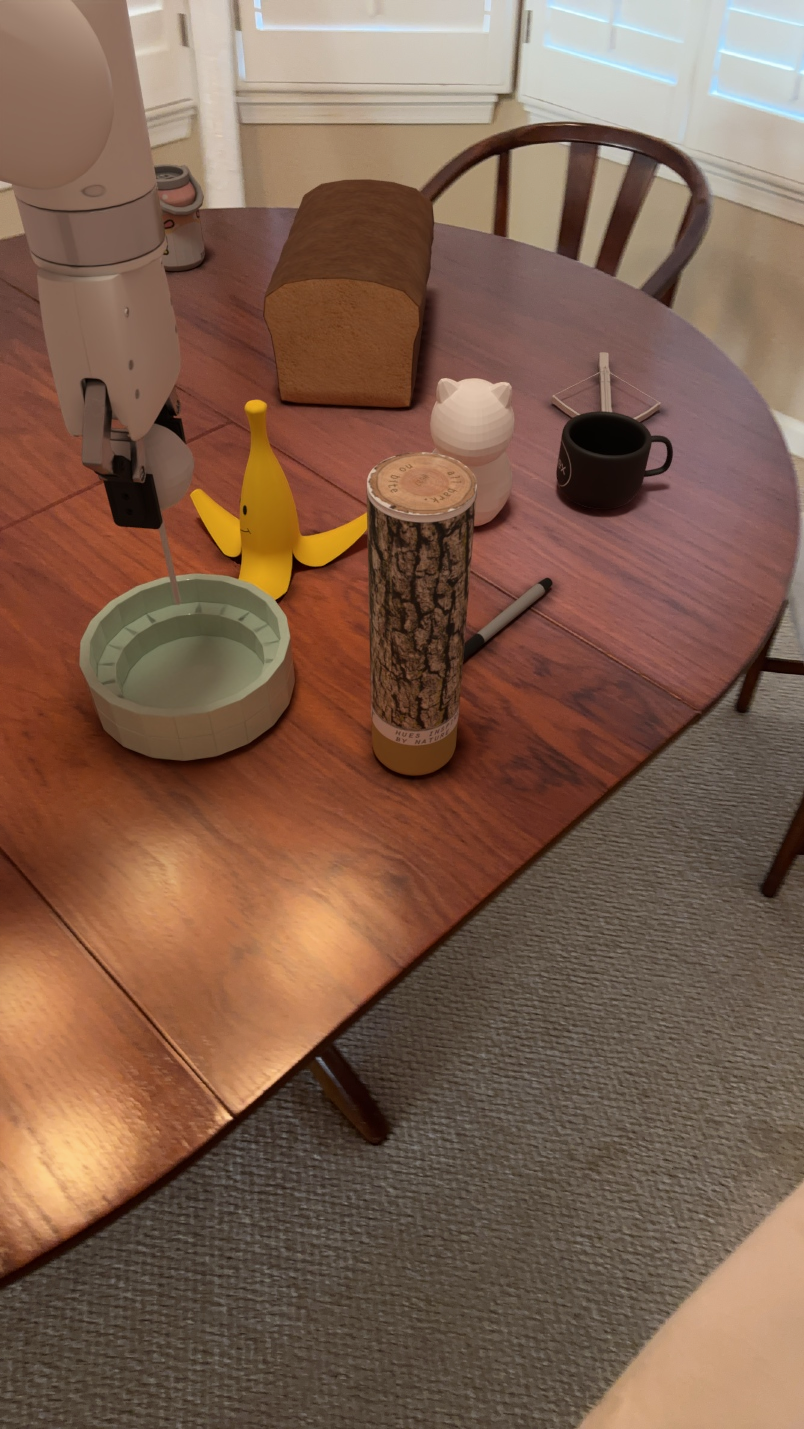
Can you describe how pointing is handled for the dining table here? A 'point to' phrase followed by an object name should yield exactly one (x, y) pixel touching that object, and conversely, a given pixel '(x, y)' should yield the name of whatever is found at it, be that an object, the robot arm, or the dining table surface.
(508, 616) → the pen
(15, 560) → the dining table surface
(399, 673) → the paper tube
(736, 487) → the dining table surface
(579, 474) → the mug
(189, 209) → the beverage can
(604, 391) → the crossbow
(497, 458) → the cat figurine
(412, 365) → the bread
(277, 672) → the bowl
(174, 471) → the lollipop
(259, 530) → the banana peel
